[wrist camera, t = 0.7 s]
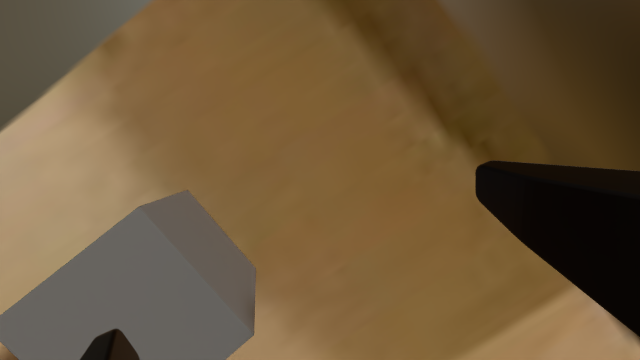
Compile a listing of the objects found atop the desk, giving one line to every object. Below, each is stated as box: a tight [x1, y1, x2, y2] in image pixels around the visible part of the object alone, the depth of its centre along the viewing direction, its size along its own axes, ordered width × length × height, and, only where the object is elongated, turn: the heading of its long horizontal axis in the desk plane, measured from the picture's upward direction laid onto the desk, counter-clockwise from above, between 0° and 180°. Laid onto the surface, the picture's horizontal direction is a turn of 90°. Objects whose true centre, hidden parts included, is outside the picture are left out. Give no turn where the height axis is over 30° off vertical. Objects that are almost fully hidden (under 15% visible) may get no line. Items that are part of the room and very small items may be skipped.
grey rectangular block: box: [0, 190, 256, 360], centre depth 18 cm, size 7×7×10 cm
